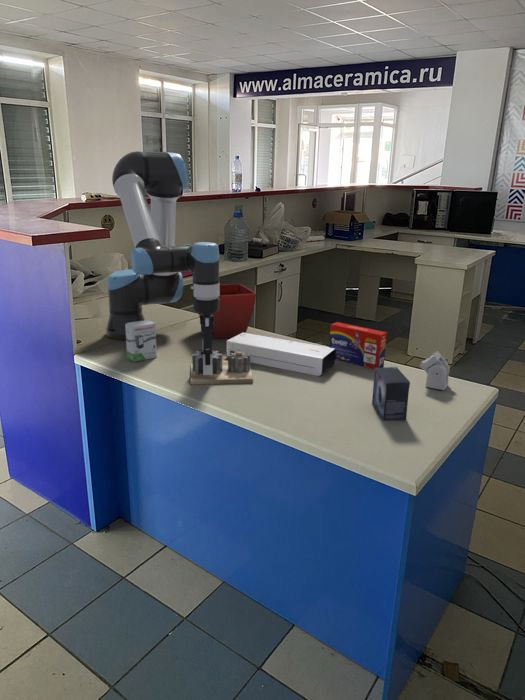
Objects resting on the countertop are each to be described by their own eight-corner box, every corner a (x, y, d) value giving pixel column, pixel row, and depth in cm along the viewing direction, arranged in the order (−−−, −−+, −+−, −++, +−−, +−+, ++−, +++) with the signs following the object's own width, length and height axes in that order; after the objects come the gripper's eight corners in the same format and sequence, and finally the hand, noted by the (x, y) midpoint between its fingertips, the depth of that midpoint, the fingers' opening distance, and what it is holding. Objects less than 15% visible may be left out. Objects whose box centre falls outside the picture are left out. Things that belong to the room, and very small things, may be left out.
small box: (369, 403, 142) (373, 366, 138) (393, 402, 142) (397, 366, 139) (381, 421, 132) (385, 382, 128) (407, 420, 132) (411, 381, 129)
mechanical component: (444, 391, 150) (448, 358, 147) (416, 385, 154) (420, 353, 151) (447, 385, 155) (452, 353, 151) (421, 380, 158) (424, 348, 155)
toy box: (383, 367, 168) (387, 332, 165) (377, 370, 165) (381, 335, 162) (334, 354, 179) (336, 321, 175) (328, 357, 176) (330, 324, 172)
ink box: (133, 362, 168) (131, 326, 164) (126, 358, 172) (124, 323, 168) (157, 357, 173) (156, 322, 170) (150, 353, 177) (148, 319, 173)
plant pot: (240, 324, 212) (240, 282, 206) (256, 338, 195) (257, 293, 190) (193, 328, 205) (192, 285, 200) (206, 342, 189) (205, 296, 183)
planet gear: (192, 365, 163) (192, 350, 162) (221, 364, 164) (221, 349, 163) (192, 376, 155) (192, 359, 153) (223, 375, 156) (222, 359, 154)
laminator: (335, 366, 169) (336, 348, 167) (320, 379, 159) (321, 359, 157) (242, 349, 184) (242, 332, 182) (224, 359, 174) (224, 341, 172)
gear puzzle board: (191, 365, 167) (190, 344, 165) (248, 363, 169) (248, 343, 167) (190, 384, 152) (190, 362, 150) (252, 382, 154) (253, 361, 152)
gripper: (193, 288, 164) (195, 352, 170) (192, 308, 140) (194, 382, 147) (217, 288, 164) (218, 352, 171) (221, 307, 141) (221, 381, 148)
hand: (207, 366), depth 159 cm, fingers open, 13 cm apart
